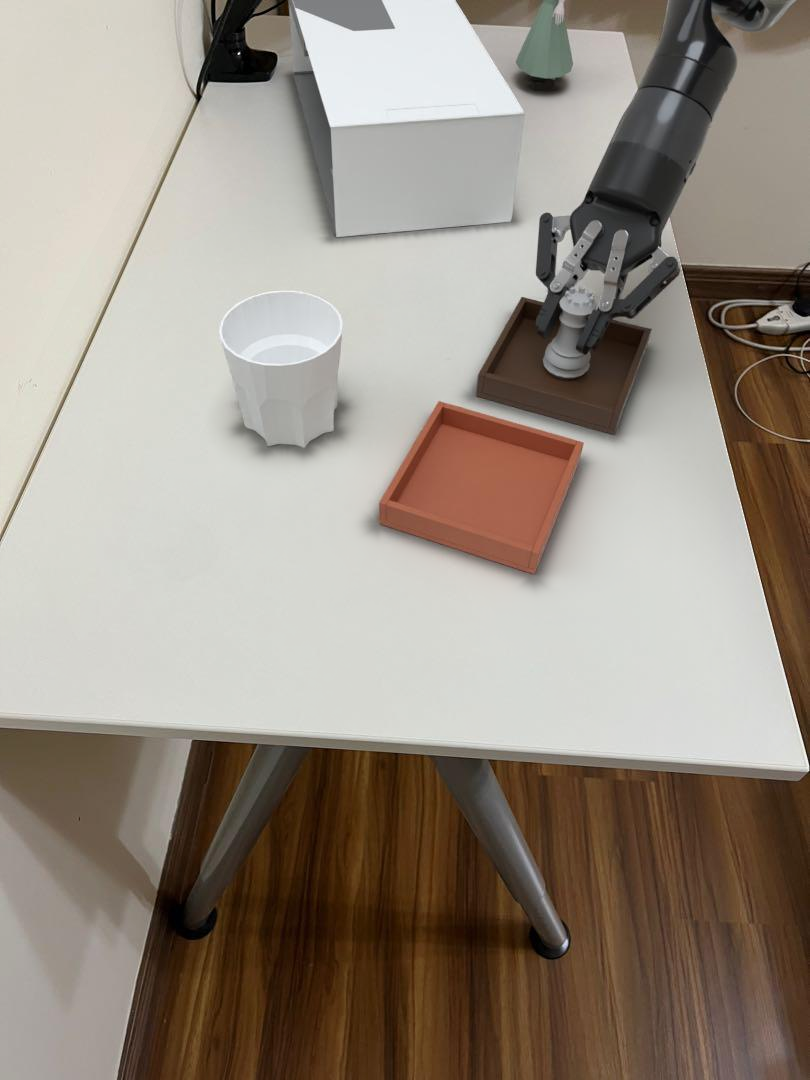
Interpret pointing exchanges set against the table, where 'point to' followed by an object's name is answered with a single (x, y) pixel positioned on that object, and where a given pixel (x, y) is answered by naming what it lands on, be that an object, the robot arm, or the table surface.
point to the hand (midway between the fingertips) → (562, 343)
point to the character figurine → (547, 46)
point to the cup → (284, 364)
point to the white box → (404, 115)
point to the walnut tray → (582, 400)
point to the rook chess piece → (570, 336)
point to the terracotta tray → (482, 486)
